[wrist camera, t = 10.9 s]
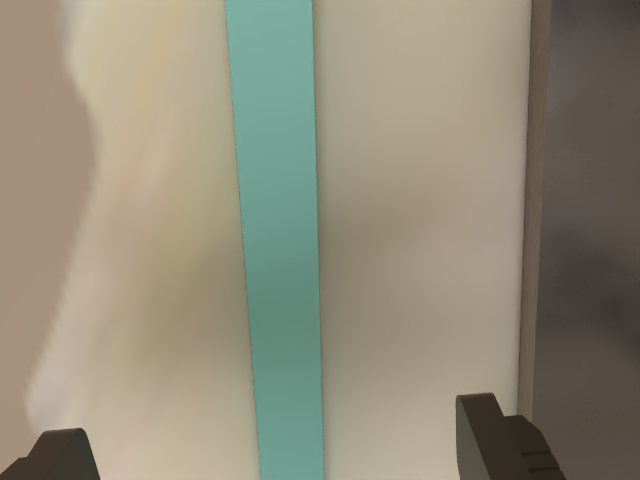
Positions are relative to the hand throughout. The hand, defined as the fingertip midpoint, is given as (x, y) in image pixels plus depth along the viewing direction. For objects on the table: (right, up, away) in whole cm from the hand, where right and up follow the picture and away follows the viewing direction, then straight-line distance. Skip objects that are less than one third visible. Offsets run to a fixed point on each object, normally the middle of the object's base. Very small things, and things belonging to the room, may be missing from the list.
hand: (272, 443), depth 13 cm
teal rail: (0, +4, +9) cm, 10 cm away
